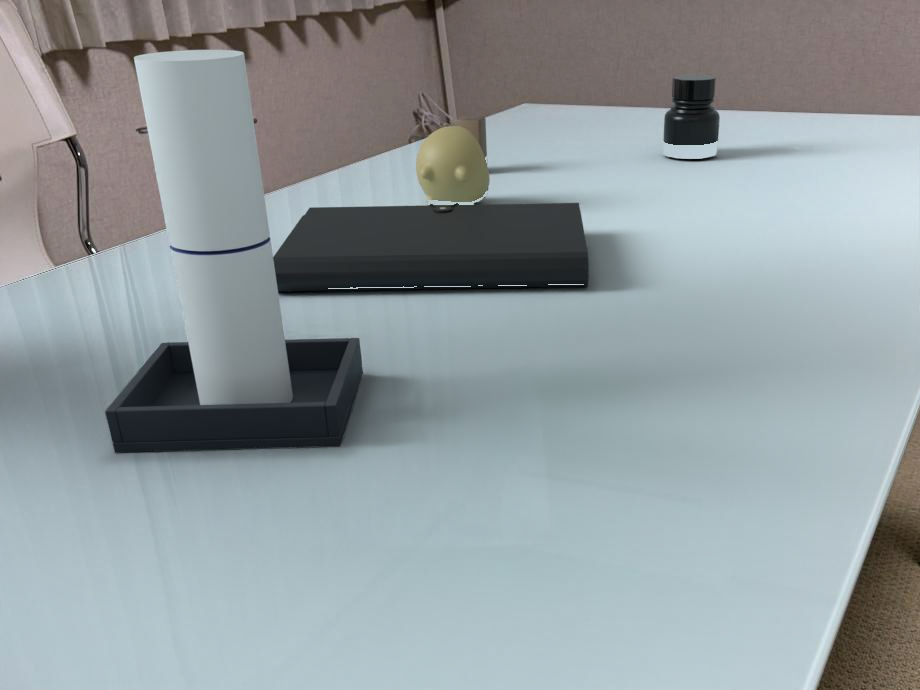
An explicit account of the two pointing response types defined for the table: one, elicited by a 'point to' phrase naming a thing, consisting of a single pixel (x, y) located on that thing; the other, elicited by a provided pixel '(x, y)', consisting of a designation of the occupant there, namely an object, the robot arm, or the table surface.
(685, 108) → the ink bottle
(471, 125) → the wooden block
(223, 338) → the cylindrical container
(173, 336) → the table surface
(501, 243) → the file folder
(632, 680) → the table surface
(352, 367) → the tray
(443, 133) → the tan rounded lump
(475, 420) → the table surface
